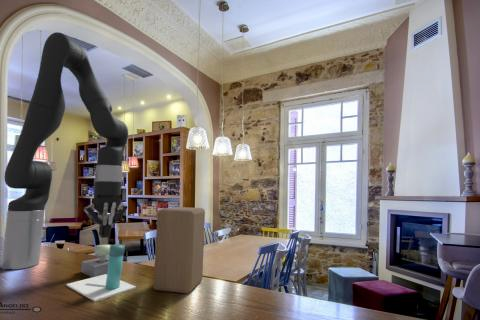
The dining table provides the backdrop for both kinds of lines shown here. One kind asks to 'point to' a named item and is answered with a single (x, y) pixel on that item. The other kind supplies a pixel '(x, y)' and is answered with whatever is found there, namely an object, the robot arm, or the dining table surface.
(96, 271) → the button housing
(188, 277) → the wooden block
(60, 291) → the dining table surface
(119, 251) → the marker
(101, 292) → the pad
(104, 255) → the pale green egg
